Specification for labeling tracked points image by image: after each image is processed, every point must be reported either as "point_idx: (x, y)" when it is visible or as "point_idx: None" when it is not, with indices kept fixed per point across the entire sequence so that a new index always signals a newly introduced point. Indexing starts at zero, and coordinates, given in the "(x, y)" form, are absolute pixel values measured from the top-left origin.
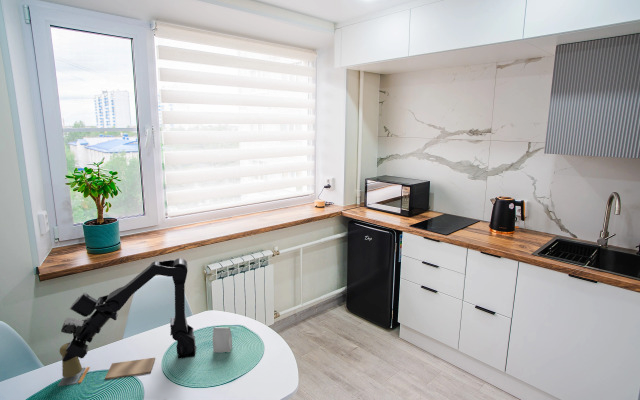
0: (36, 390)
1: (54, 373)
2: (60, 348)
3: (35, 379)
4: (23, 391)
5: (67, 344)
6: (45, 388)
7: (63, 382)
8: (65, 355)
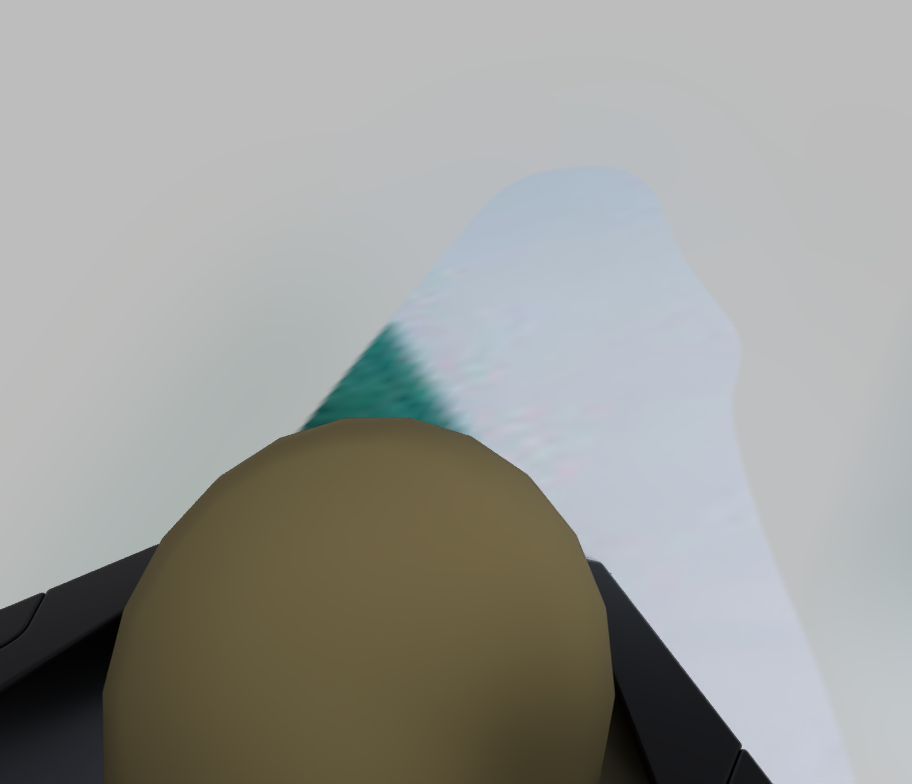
0: (429, 337)
1: (625, 449)
2: (346, 426)
3: (604, 317)
4: (474, 261)
5: (375, 650)
6: (414, 395)
7: None
8: (101, 569)
